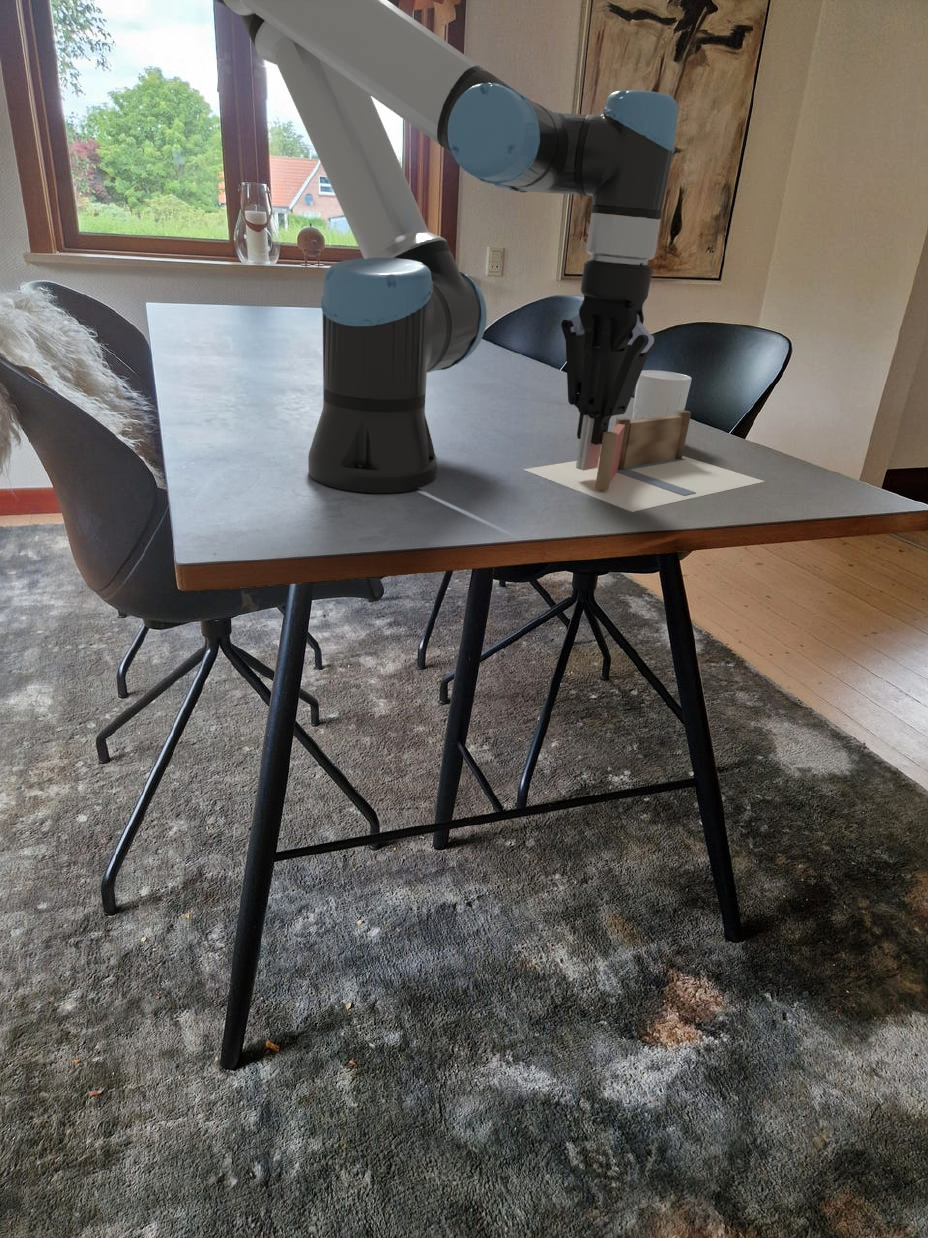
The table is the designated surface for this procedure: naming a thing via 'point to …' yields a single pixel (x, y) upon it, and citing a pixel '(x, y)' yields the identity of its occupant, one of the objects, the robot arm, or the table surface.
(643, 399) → the white cup
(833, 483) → the table surface
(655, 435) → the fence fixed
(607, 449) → the fence gate
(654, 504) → the board
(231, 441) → the table surface
